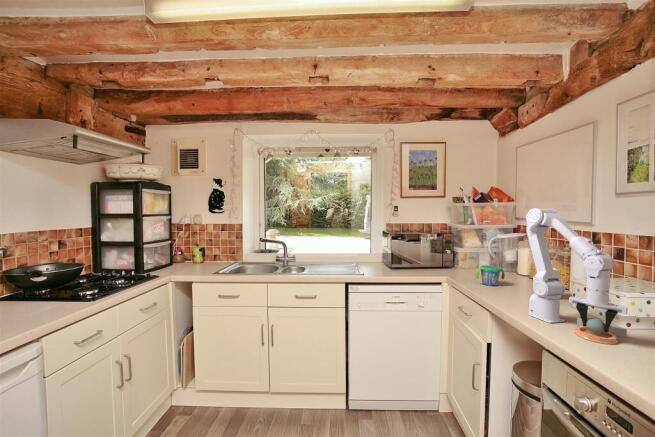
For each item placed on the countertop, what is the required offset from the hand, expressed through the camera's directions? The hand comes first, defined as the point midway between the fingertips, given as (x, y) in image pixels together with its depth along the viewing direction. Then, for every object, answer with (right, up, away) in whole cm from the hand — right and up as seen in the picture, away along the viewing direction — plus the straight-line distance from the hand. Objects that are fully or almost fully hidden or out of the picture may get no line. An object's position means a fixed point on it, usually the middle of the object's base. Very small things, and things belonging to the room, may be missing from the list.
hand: (595, 328), depth 100 cm
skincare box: (+17, -2, +45) cm, 48 cm away
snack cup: (+1, 0, +67) cm, 67 cm away
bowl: (0, -3, 0) cm, 3 cm away
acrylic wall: (+6, -3, +5) cm, 9 cm away
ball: (0, +1, 0) cm, 1 cm away
